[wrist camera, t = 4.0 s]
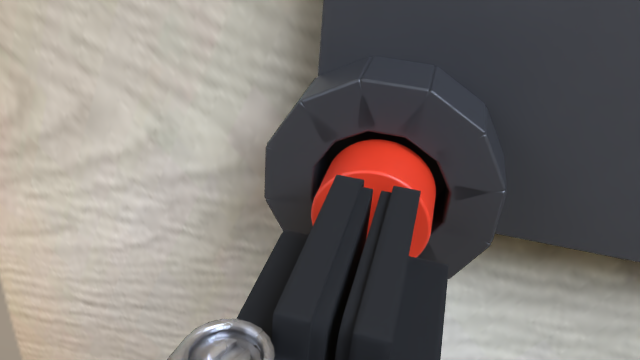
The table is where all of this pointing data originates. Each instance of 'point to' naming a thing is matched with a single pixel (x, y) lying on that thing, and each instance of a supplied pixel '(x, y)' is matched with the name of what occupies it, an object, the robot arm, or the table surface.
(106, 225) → the table surface
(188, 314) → the table surface
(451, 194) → the scale
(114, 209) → the table surface
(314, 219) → the tare button
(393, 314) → the robot arm
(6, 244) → the table surface
